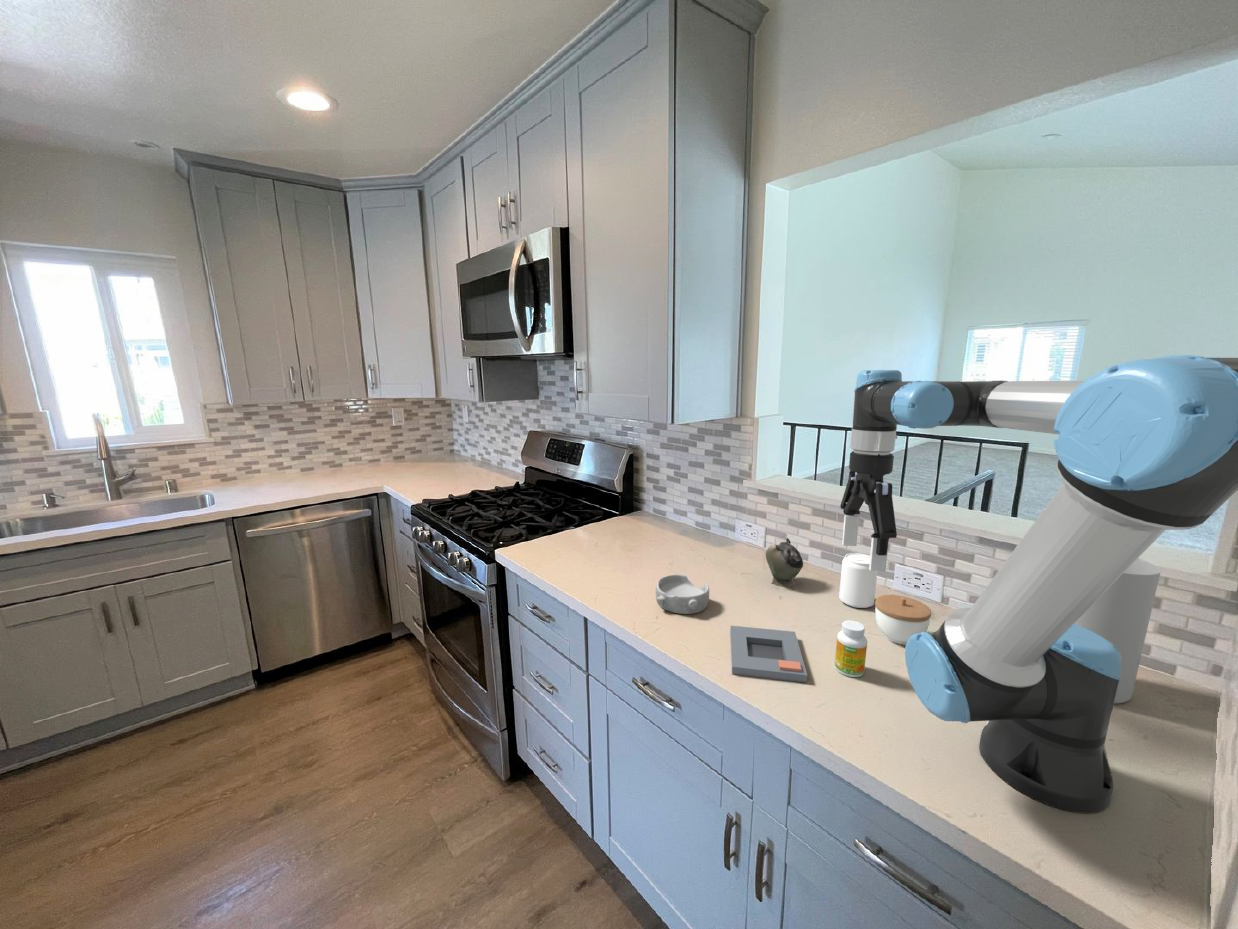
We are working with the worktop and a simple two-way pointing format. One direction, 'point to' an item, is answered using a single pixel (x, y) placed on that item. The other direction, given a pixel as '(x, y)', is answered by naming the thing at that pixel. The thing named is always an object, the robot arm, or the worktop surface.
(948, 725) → the worktop surface
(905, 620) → the lidded jar
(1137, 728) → the worktop surface
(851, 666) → the supplement bottle
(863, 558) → the beverage can
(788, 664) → the socket plate
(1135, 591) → the cylinder vase
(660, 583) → the dish
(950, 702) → the robot arm
